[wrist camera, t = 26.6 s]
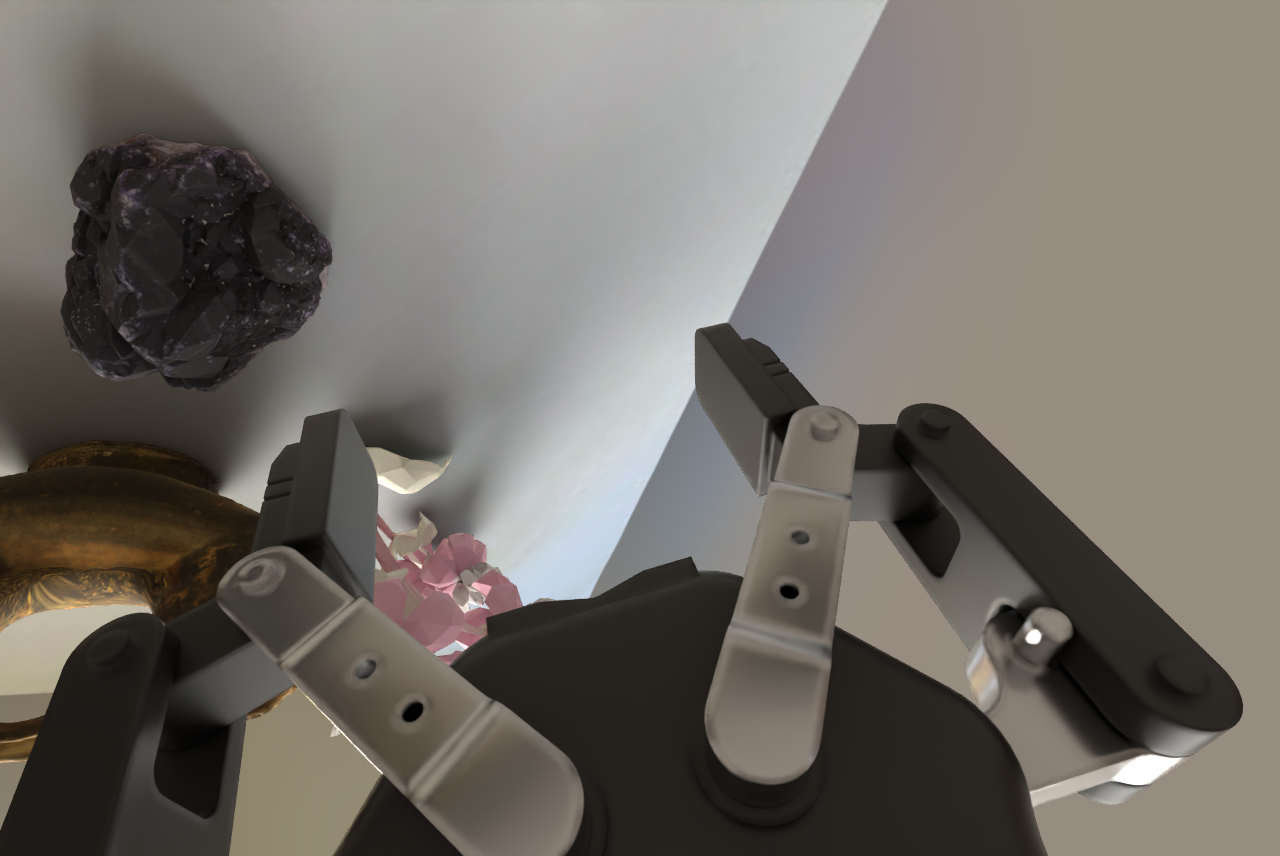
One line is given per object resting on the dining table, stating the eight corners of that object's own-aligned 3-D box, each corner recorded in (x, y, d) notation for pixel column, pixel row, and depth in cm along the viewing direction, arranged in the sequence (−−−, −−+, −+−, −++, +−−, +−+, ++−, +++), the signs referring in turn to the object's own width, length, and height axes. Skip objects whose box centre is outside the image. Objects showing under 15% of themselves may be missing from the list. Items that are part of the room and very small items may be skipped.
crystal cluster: (292, 114, 34) (235, 147, 26) (369, 327, 42) (344, 402, 34) (33, 140, 32) (-112, 183, 25) (165, 357, 40) (88, 443, 32)
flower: (181, 579, 50) (284, 882, 40) (221, 383, 38) (380, 744, 29) (406, 525, 65) (520, 735, 56) (484, 374, 54) (645, 606, 44)
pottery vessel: (328, 447, 48) (297, 674, 33) (320, 539, 54) (290, 767, 39) (-126, 413, 37) (-466, 730, 22) (-76, 533, 43) (-322, 849, 28)
